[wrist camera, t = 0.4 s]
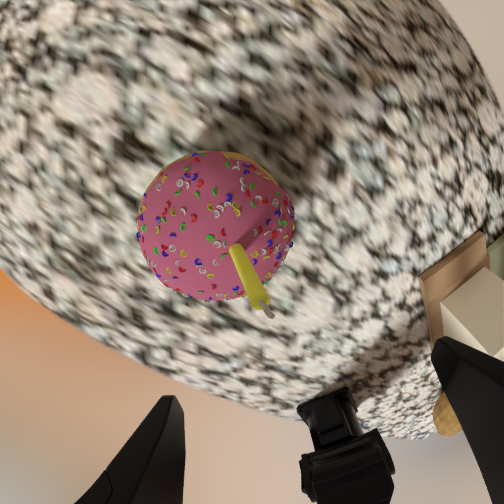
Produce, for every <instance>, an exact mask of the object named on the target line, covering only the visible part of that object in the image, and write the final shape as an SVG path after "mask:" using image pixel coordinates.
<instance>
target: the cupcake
mask: <svg viewBox="0 0 504 504" xmlns="http://www.w3.org/2000/svg"><path fill="white" fill-rule="evenodd" d="M295 217H296V218H295ZM296 219H297V216H296V214H295V213H294V208H293V205H292V202H291V199H290V197H289V195H288V193H287V192H286V191H285V190H284V189H282V188H280V187H279V185H278V184H277V182H276V181H275V180H274V178H273V177H272V176H271V175H270V174H269V173H268V172H267V171H266V170H265V169H264V168H262V167H261V166H260V165H259V164H257V163H256V162H255V161H254V160H252V159H251V158H249V157H247V156H245V155H242V154H239V153H234V152H225V151H204V150H202V151H197V152H194V153H191V154H189V155H187V156H184V157H182V158H179V159H177V160H176V161H174V162H172V163H170V164H169V165H167V166H166V167H165V168H163V169H162V170H161V171H160V172H159V174H158V175H157V176H156V177H155V179H154V180H153V181H152V183H151V184H150V185H149V187H148V188H147V190H146V191H145V193H144V195H143V198H142V201H141V204H140V208H139V212H138V216H137V228H138V233H137V235H136V236H137V238H139V240H140V246H141V250H142V253H143V255H144V258H145V260H146V262H147V263H148V265H149V266H150V268H151V269H152V271H153V272H154V273H155V275H156V276H157V278H158V279H159V280H160V281H161V282H162V283H163V284H164V285H165V286H167V287H169V288H171V289H173V290H174V292H175V293H177V292H176V291H178V292H180V293H181V294H182V295H183V296H184V297H191V298H192V297H194V298H198V299H204V300H205V303H209V302H210V300H211V301H215V300H220V301H226V300H230V299H234V298H238V297H245V296H246V295H247V296H248V298H249V300H250V303H251V305H252V307H253V308H254V309H257V310H262V309H263V310H264V312H265V314H266V315H267V316H268V317H269V318H271V319H273V318H274V317H275V315H274V314H273V313H272V312H271V310H270V308H269V307H268V305H269V303H270V298H269V296H268V294H267V292H266V290H265V288H264V286H263V285H264V284H266V283H268V282H269V281H270V279H271V278H272V277H273V276H274V275H275V273H276V272H277V270H279V269H281V268H282V266H283V264H284V259H285V258H286V255H287V253H288V250H289V248H290V247H292V246H293V242H292V240H293V239H294V236H293V234H294V227H295V220H296ZM138 235H139V236H138ZM291 244H292V245H291ZM290 245H291V246H290ZM279 267H280V268H279ZM175 290H176V291H175ZM184 294H185V295H187V296H185V295H184ZM208 300H209V301H208ZM207 301H208V302H207Z"/></svg>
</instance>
